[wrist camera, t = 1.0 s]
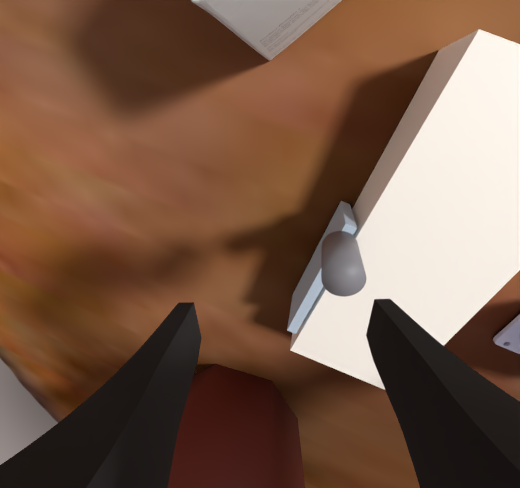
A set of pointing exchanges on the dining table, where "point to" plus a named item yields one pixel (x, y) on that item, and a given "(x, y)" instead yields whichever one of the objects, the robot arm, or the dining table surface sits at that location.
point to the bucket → (236, 435)
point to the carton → (434, 208)
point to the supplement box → (268, 20)
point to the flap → (330, 267)
